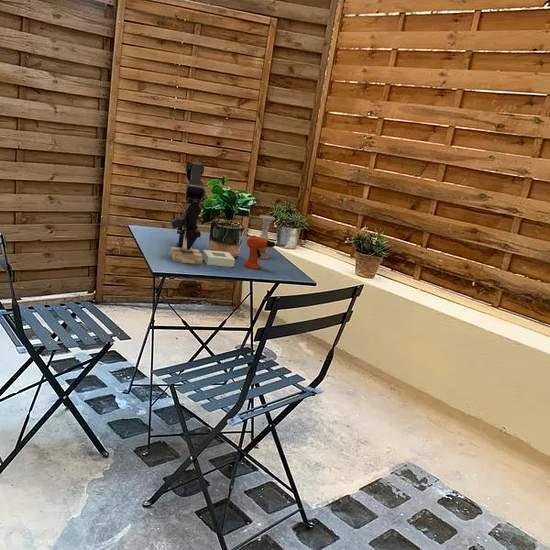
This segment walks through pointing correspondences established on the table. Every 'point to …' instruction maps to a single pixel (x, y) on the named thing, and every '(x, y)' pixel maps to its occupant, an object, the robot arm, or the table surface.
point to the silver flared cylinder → (185, 246)
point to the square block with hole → (218, 258)
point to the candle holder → (265, 234)
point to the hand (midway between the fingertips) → (187, 248)
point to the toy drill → (254, 245)
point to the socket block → (186, 256)
